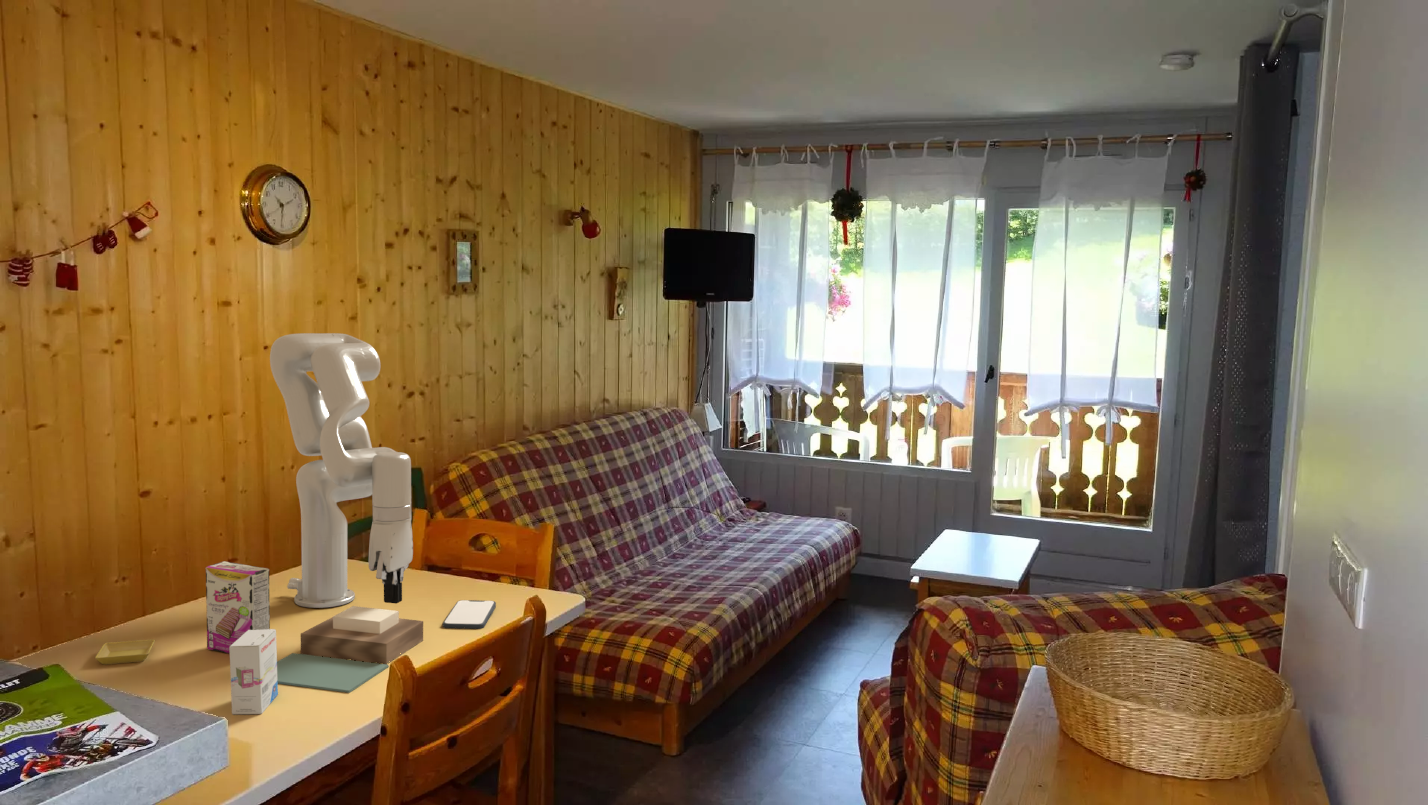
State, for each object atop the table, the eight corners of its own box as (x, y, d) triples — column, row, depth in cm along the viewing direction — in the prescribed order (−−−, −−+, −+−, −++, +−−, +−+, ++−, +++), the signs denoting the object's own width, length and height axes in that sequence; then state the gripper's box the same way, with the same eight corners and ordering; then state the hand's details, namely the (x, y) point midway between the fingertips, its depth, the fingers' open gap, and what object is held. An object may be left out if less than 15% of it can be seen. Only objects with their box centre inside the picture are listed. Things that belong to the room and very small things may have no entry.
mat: (248, 679, 183) (248, 677, 183) (292, 655, 196) (292, 653, 196) (349, 692, 179) (349, 690, 179) (388, 666, 191) (388, 664, 191)
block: (300, 653, 196) (300, 633, 196) (342, 631, 210) (342, 611, 210) (386, 664, 193) (386, 643, 192) (423, 640, 206) (423, 621, 206)
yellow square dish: (104, 653, 194) (104, 642, 194) (155, 649, 197) (155, 638, 197) (94, 669, 186) (94, 658, 186) (148, 664, 189) (148, 653, 189)
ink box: (248, 694, 177) (247, 627, 175) (278, 694, 177) (278, 627, 176) (229, 714, 168) (228, 644, 167) (261, 714, 169) (260, 644, 167)
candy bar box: (205, 650, 196) (203, 566, 195) (225, 642, 201) (224, 560, 199) (252, 659, 193) (251, 573, 191) (271, 650, 197) (270, 567, 196)
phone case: (483, 632, 214) (497, 607, 230) (483, 624, 214) (497, 600, 230) (440, 631, 214) (457, 606, 230) (440, 623, 214) (457, 599, 230)
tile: (333, 628, 199) (333, 616, 199) (353, 617, 206) (353, 606, 206) (379, 633, 197) (379, 621, 197) (398, 622, 204) (398, 611, 204)
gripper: (394, 505, 217) (395, 591, 218) (355, 519, 202) (356, 610, 204) (426, 507, 215) (427, 593, 217) (389, 521, 201) (390, 613, 202)
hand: (393, 601), depth 210 cm, fingers closed
